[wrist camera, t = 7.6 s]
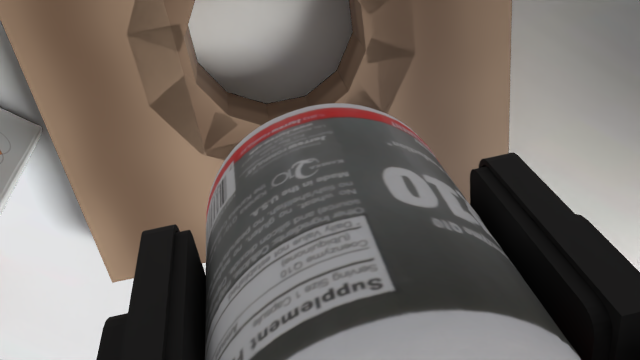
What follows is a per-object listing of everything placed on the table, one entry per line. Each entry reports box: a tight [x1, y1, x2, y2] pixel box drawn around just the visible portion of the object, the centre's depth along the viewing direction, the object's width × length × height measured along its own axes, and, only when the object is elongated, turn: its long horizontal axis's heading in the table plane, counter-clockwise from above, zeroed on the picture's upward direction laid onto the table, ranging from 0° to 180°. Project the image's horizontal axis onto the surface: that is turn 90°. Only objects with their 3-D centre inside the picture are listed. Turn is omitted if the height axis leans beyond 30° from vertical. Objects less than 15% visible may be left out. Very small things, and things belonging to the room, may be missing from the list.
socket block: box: [0, 0, 512, 283], centre depth 23 cm, size 18×18×2 cm
